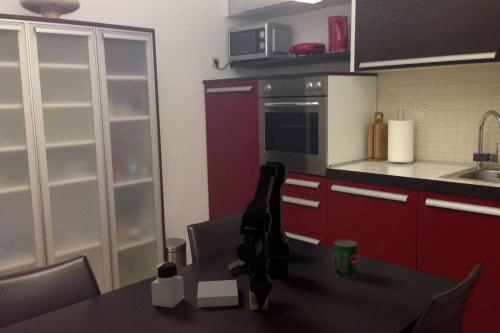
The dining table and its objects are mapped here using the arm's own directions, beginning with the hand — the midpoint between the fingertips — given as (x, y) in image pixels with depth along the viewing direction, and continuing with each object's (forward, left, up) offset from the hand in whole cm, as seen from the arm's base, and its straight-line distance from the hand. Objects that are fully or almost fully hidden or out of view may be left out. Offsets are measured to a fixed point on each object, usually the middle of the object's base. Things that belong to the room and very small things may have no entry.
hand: (258, 301), depth 134 cm
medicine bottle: (+27, -6, -1) cm, 28 cm away
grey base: (+12, -7, -1) cm, 14 cm away
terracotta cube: (0, 0, -1) cm, 1 cm away
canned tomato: (-32, -21, -1) cm, 38 cm away
